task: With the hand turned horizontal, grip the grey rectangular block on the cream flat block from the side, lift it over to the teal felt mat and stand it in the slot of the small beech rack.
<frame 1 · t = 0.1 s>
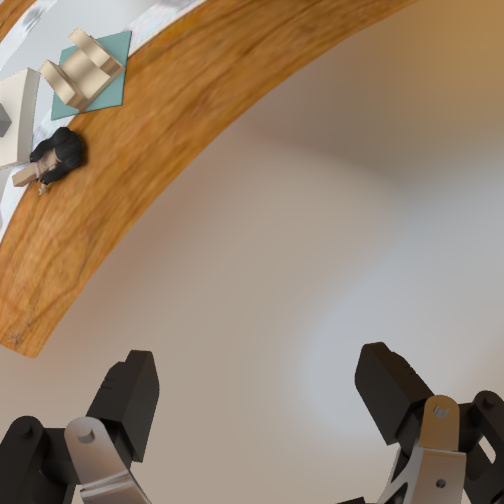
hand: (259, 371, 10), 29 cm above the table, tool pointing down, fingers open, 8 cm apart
grey rectangular block: (1, 119, 26), point 4 cm above the table, touching cream flat block
mat: (88, 74, 30), on the table
toy figure: (53, 165, 33), on the table
cream flat block: (15, 121, 30), on the table
rack: (79, 68, 26), on the mat
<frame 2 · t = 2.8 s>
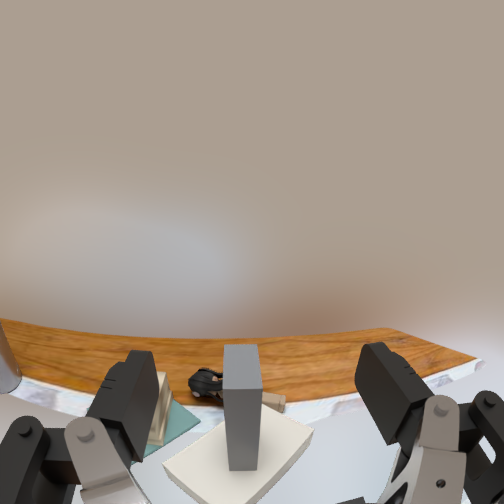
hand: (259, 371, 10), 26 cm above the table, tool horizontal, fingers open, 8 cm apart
grey rectangular block: (242, 450, 26), point 4 cm above the table, touching cream flat block
mat: (140, 418, 33), on the table
toy figure: (236, 399, 40), on the table
cream flat block: (242, 465, 27), on the table
rack: (135, 404, 32), on the mat
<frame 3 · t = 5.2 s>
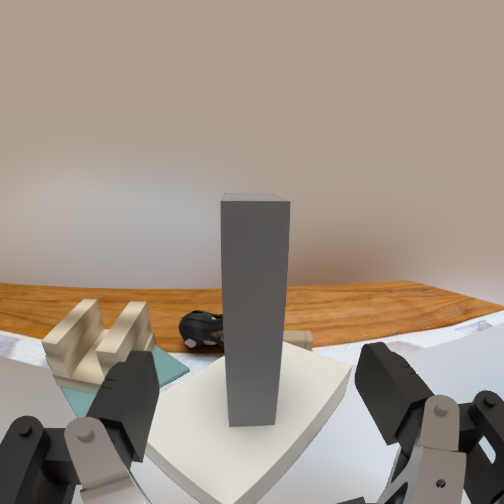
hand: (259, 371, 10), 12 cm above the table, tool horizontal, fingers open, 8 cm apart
grey rectangular block: (249, 396, 18), point 4 cm above the table, touching cream flat block
mat: (109, 367, 25), on the table
toy figure: (244, 348, 32), on the table
cream flat block: (249, 427, 19), on the table
rack: (102, 343, 25), on the mat
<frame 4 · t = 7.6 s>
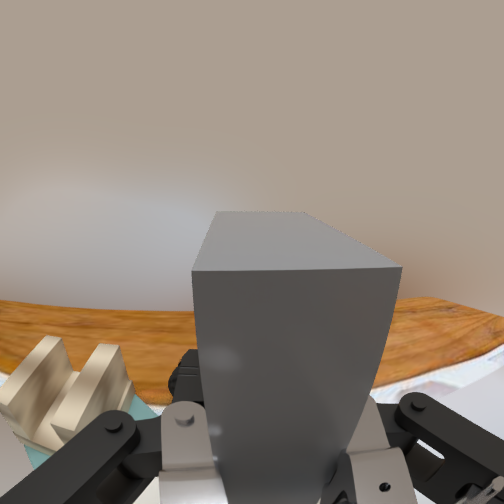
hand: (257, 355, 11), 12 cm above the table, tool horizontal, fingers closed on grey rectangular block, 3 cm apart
grey rectangular block: (258, 497, 10), point 4 cm above the table, touching cream flat block, gripper
mat: (79, 422, 17), on the table
rack: (66, 398, 16), on the mat
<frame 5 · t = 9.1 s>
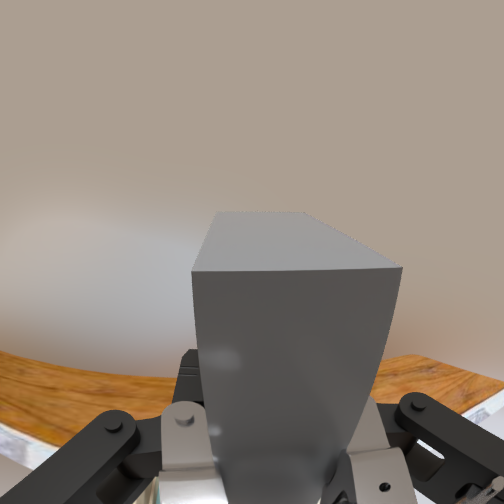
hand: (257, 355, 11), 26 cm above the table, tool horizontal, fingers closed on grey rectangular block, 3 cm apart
grey rectangular block: (258, 497, 10), point 17 cm above the table, touching gripper
rack: (114, 475, 20), on the mat
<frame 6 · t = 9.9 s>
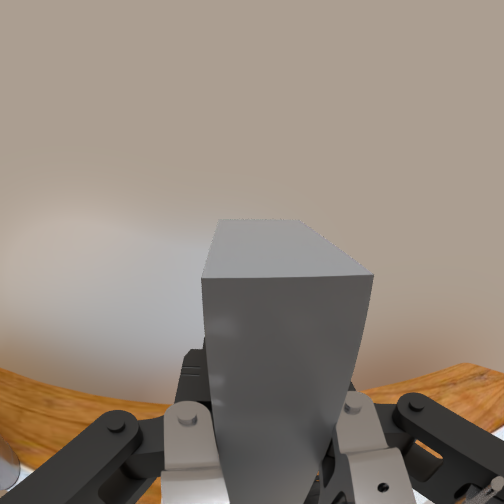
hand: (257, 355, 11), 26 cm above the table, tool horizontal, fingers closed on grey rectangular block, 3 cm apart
grey rectangular block: (257, 486, 11), point 17 cm above the table, touching gripper
when the fingers open (12 cm above the table, at t = 12.5 s): grey rectangular block stays where it is, resting on rack.
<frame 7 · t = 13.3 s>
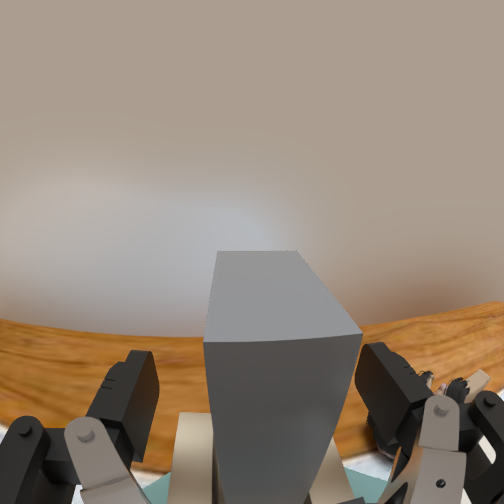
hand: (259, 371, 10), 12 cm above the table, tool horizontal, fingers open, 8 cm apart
grey rectangular block: (255, 494, 11), point 2 cm above the table, touching rack
toy figure: (429, 419, 18), on the table
rack: (257, 501, 10), on the mat
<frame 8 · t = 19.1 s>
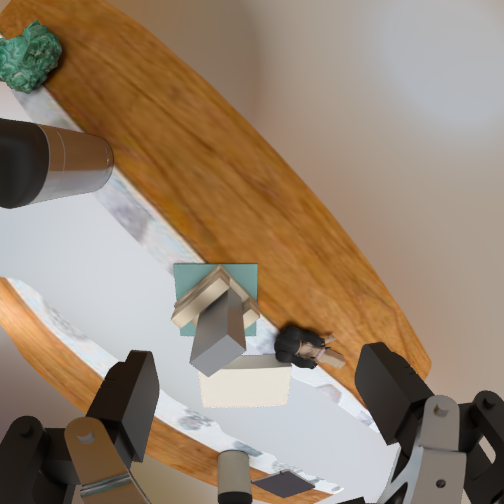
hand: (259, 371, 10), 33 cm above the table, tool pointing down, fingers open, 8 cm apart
grey rectangular block: (220, 303, 43), point 2 cm above the table, touching rack
mat: (216, 301, 45), on the table
toy figure: (310, 343, 49), on the table
cream flat block: (244, 375, 49), on the table
mineral: (35, 64, 30), on the table
travel mug: (233, 456, 57), on the table
notebook: (285, 482, 65), on the table
rack: (215, 310, 42), on the mat
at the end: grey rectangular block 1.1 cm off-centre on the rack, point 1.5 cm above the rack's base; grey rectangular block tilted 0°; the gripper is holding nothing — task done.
